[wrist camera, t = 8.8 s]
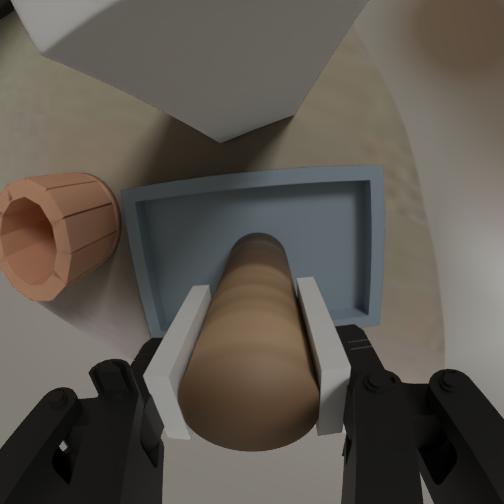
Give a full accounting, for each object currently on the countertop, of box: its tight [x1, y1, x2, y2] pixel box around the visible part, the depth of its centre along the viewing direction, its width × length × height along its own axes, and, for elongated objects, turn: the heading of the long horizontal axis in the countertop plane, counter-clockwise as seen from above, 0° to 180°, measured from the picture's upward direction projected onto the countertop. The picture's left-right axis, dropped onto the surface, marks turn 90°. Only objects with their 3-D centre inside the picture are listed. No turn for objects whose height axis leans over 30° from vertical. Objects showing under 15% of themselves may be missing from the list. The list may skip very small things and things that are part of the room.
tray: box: [121, 165, 385, 338], centre depth 21 cm, size 12×18×3 cm, turn 96°
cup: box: [0, 172, 121, 301], centre depth 19 cm, size 8×8×8 cm
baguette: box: [178, 232, 320, 451], centre depth 14 cm, size 4×4×14 cm
